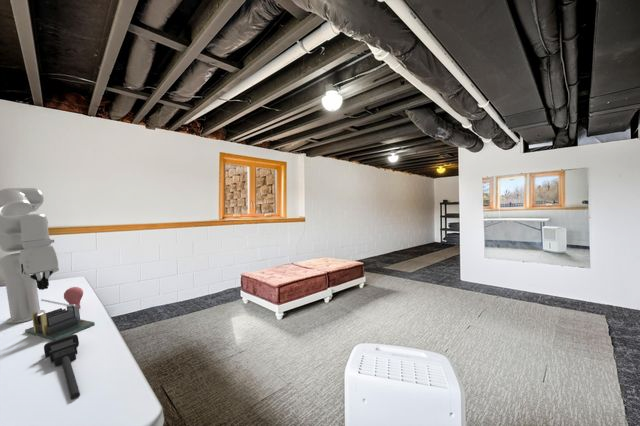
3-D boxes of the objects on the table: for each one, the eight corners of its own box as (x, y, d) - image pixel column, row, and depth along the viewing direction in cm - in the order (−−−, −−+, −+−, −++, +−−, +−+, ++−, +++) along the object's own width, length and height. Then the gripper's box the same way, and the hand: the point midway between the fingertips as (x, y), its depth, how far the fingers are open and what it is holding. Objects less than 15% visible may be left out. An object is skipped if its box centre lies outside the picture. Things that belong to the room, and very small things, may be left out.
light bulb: (73, 314, 128) (70, 289, 127) (62, 313, 129) (58, 289, 128) (89, 307, 135) (86, 284, 134) (78, 307, 136) (74, 284, 135)
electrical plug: (77, 341, 100) (75, 329, 100) (97, 394, 73) (95, 377, 72) (44, 352, 94) (42, 339, 93) (53, 415, 66) (51, 397, 66)
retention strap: (39, 301, 108) (42, 297, 109) (71, 308, 117) (73, 304, 118) (43, 302, 107) (46, 298, 108) (75, 308, 116) (77, 305, 117)
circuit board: (25, 332, 111) (22, 311, 111) (64, 318, 123) (61, 299, 122) (55, 340, 102) (51, 317, 101) (94, 324, 114) (91, 304, 113)
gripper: (56, 241, 115) (62, 282, 116) (5, 248, 101) (12, 295, 102) (65, 241, 112) (71, 283, 113) (14, 248, 98) (21, 296, 99)
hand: (43, 288), depth 108 cm, fingers closed
